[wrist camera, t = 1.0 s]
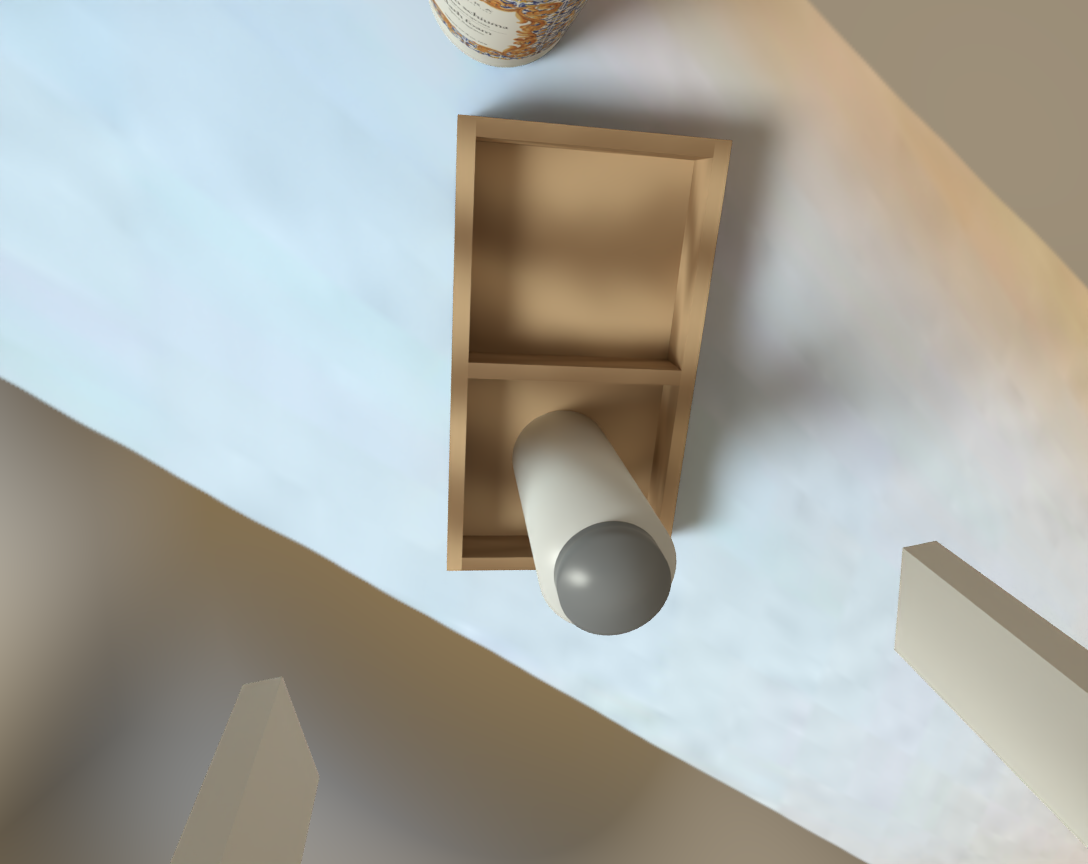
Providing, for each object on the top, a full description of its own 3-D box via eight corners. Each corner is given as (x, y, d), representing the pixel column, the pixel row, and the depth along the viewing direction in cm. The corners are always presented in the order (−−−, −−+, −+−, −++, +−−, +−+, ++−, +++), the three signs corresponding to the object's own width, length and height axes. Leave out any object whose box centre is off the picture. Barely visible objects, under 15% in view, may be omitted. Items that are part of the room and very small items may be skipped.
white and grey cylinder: (494, 438, 36) (517, 564, 24) (584, 393, 36) (653, 496, 23) (538, 516, 38) (579, 670, 26) (623, 474, 38) (706, 608, 25)
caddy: (457, 122, 31) (458, 114, 28) (706, 145, 33) (732, 140, 30) (447, 540, 39) (446, 570, 35) (649, 540, 40) (666, 568, 37)
